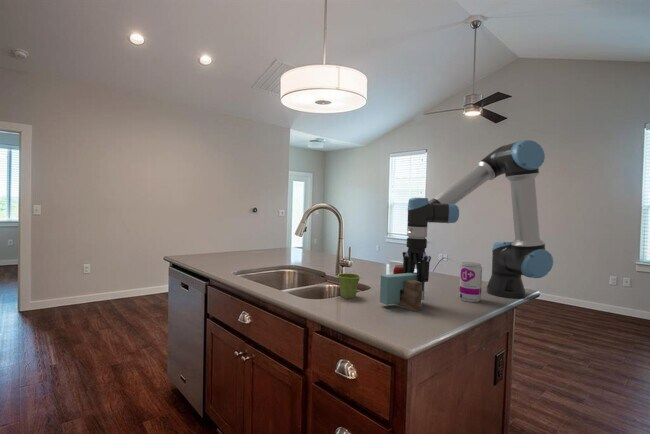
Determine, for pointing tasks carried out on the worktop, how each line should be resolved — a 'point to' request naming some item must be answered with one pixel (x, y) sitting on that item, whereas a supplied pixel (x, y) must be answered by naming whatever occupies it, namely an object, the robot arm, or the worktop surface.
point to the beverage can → (398, 270)
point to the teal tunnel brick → (394, 287)
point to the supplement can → (470, 281)
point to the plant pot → (348, 284)
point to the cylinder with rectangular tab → (393, 265)
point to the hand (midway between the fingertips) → (414, 297)
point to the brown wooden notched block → (411, 295)
